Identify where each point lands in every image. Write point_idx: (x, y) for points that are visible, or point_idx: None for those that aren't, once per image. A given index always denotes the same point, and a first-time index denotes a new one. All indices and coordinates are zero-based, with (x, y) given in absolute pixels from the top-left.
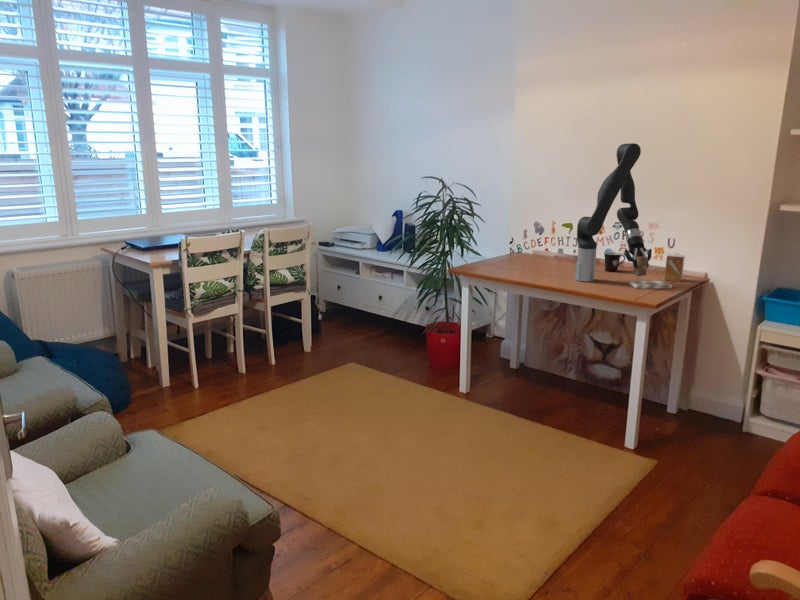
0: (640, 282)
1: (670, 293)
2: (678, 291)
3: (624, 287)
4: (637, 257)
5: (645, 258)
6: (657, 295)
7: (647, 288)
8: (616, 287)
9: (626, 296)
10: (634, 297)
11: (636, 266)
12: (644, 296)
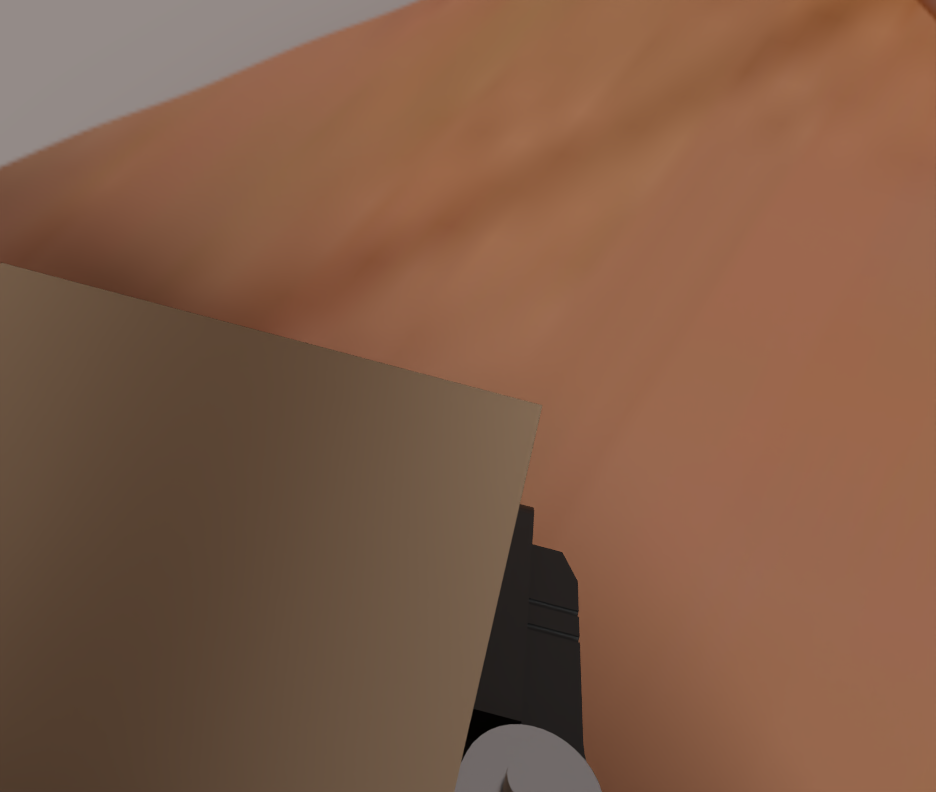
0: None
1: (224, 107)
2: (24, 158)
3: (644, 628)
4: (478, 601)
5: (136, 305)
6: (464, 79)
7: None
8: (781, 672)
9: (878, 151)
10: (802, 87)
11: (528, 518)
12: (655, 88)
